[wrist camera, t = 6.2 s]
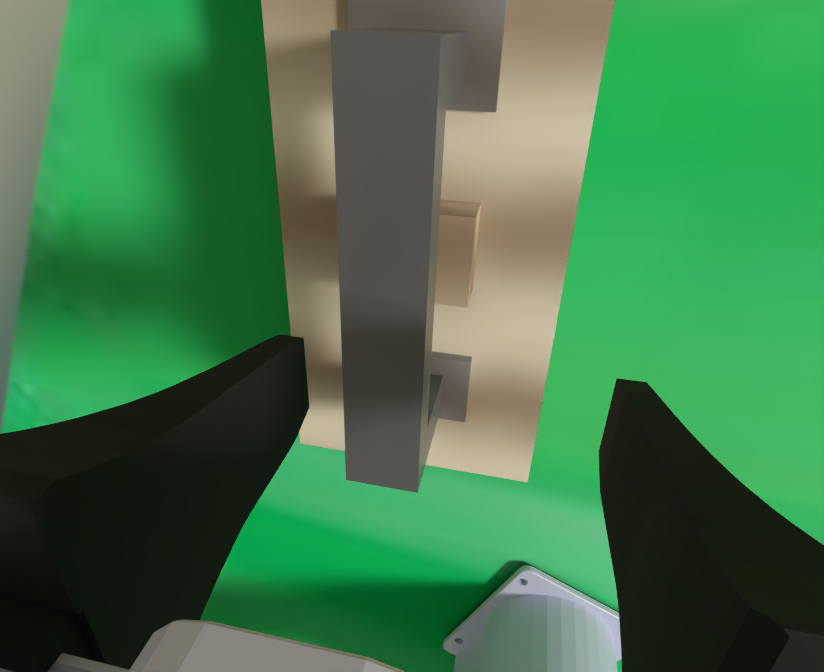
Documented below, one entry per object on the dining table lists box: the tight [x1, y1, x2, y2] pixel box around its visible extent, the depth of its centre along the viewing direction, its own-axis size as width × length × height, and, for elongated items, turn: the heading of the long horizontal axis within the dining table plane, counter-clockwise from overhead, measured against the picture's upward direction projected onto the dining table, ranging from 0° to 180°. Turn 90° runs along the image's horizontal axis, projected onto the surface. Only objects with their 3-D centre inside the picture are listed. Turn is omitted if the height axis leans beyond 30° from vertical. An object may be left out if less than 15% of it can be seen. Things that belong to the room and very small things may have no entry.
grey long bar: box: [330, 28, 468, 493], centre depth 17 cm, size 13×2×4 cm, turn 178°
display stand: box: [261, 0, 615, 482], centre depth 20 cm, size 20×10×5 cm, turn 178°
